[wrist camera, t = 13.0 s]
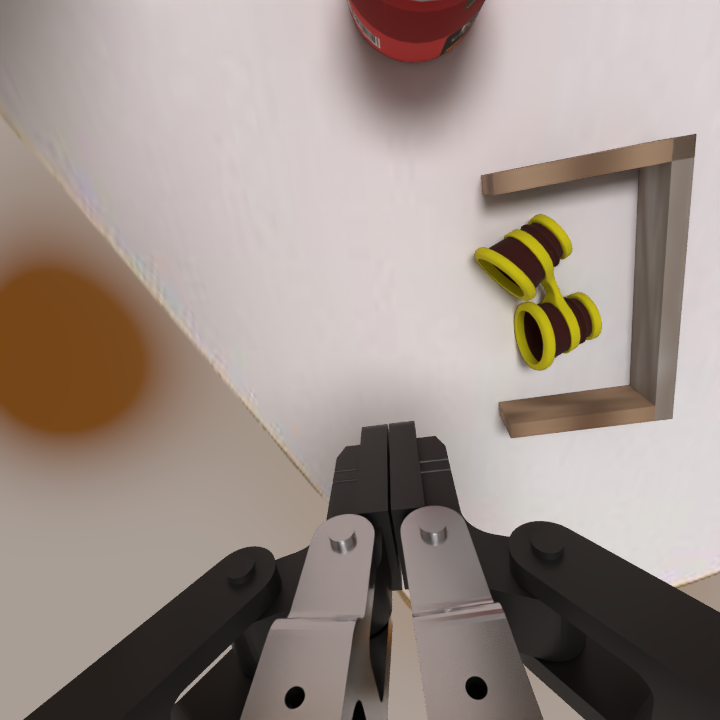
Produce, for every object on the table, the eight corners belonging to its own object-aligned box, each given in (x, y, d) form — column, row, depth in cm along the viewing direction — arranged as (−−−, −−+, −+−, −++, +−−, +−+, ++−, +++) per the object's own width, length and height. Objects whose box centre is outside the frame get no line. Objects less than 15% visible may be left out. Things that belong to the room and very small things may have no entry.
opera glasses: (577, 326, 33) (621, 341, 29) (516, 361, 34) (550, 382, 29) (528, 210, 31) (568, 206, 26) (463, 249, 31) (490, 252, 26)
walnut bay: (499, 415, 36) (510, 438, 32) (481, 175, 29) (492, 174, 26) (645, 396, 34) (672, 418, 31) (660, 139, 28) (696, 133, 24)
